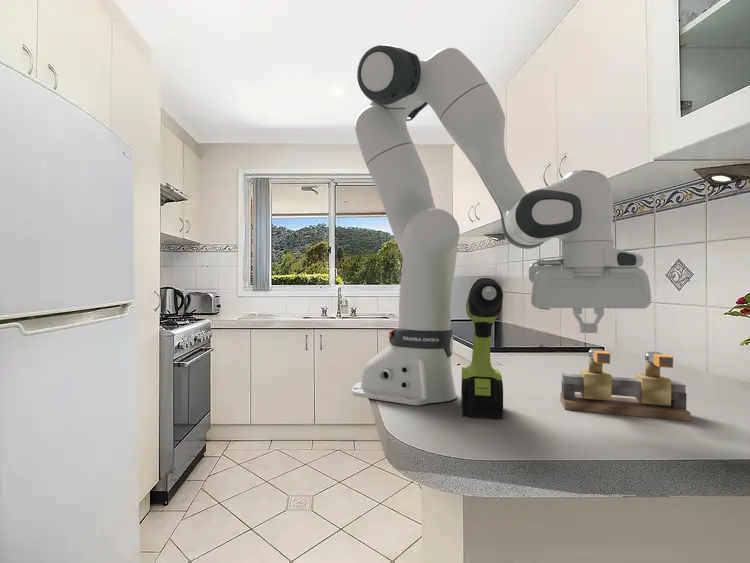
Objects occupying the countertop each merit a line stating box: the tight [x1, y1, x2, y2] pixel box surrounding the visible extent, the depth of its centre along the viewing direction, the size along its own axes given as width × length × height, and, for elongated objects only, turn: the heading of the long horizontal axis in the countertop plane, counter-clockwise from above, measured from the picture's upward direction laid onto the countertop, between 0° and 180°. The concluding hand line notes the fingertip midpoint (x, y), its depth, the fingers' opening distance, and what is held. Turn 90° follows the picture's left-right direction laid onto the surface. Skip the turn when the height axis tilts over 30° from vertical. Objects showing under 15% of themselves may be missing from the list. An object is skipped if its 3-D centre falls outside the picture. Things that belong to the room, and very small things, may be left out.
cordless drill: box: [460, 277, 504, 420], centre depth 81 cm, size 23×7×25 cm, turn 170°
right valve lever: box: [644, 351, 674, 369], centre depth 83 cm, size 9×3×2 cm, turn 163°
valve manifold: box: [559, 357, 691, 422], centre depth 88 cm, size 21×8×10 cm, turn 73°
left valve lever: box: [588, 348, 611, 365], centre depth 86 cm, size 9×3×2 cm, turn 163°
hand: (588, 332), depth 84 cm, fingers closed
